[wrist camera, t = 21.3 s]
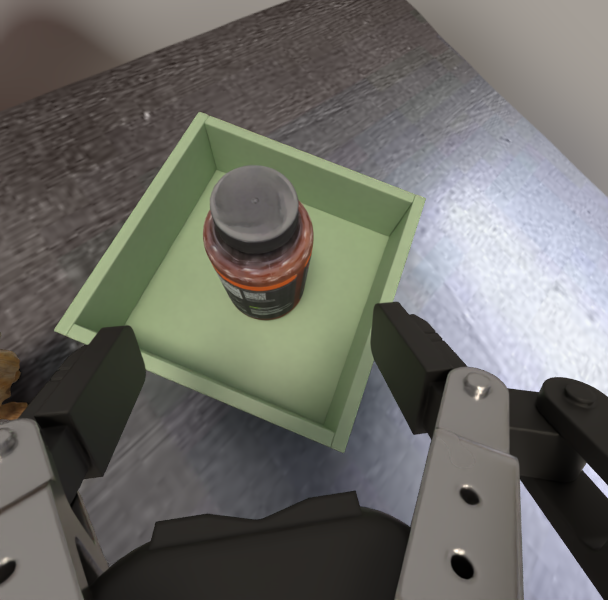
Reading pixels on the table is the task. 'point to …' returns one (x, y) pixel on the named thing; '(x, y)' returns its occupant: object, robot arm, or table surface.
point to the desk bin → (218, 306)
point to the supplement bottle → (259, 241)
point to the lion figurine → (9, 384)
